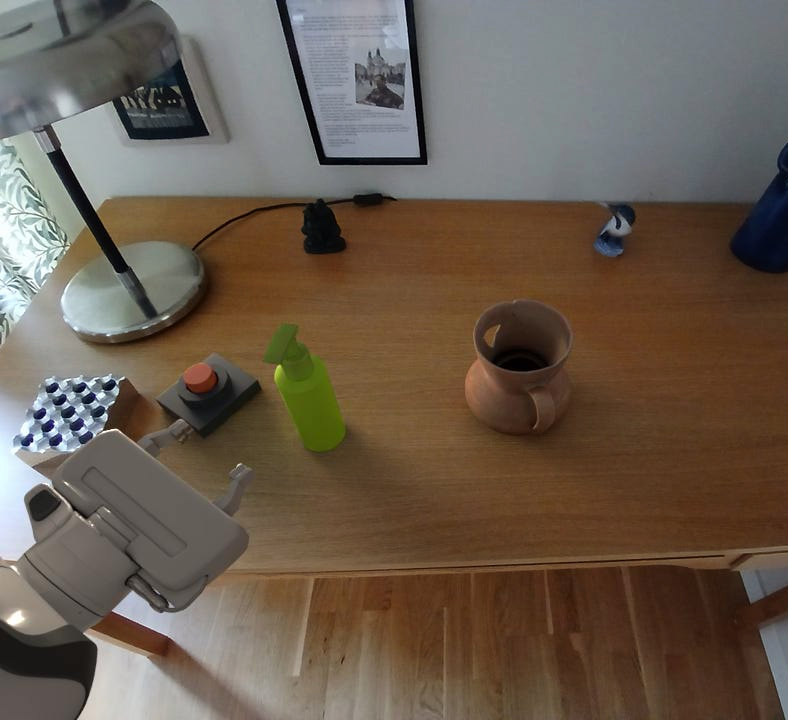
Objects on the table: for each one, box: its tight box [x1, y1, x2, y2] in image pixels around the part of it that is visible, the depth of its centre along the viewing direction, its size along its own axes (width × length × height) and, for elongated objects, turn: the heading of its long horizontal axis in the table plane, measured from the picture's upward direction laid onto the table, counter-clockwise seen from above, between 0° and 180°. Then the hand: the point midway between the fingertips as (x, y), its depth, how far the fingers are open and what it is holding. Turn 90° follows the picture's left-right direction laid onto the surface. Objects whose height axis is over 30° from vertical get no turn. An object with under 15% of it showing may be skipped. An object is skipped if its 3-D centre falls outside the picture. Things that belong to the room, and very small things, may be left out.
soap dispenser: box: [262, 322, 347, 453], centre depth 66 cm, size 6×7×20 cm
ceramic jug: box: [464, 298, 574, 437], centre depth 72 cm, size 18×14×14 cm
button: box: [183, 362, 217, 394], centre depth 74 cm, size 4×4×2 cm
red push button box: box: [154, 352, 263, 440], centre depth 76 cm, size 10×9×4 cm
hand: (218, 446), depth 58 cm, fingers open, 8 cm apart
